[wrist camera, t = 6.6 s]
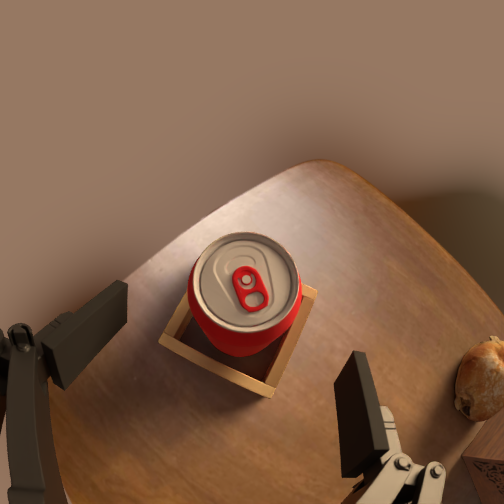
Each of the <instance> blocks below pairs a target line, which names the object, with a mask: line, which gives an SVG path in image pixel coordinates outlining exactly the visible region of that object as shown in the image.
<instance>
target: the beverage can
mask: <svg viewBox="0 0 504 504" xmlns="http://www.w3.org/2000/svg"><path fill="white" fill-rule="evenodd" d="M187 297H188V303H189V307H190V310H191V312H192V314H193V316H194V318H195V320H196V321H197V323H198V324H199V326H200V327H201V329H202V330H203V332H204V333H205V335H206V336H207V337H208V339H209V340H210V342H211V343H212V344H213V345H214V346H215V347H216V348H217V349H218V350H220V351H221V352H223V353H225V354H227V355H230V356H235V357H246V356H250V355H253V354H256V353H258V352H259V351H261V350H262V349H264V348H265V347H266V346H268V345H269V344H270V343H271V342H273V341H274V340H275V339H277V338H278V337H279V336H280V335H282V334H283V333H284V332H285V331H286V330H287V329H288V328H289V327H290V326H291V324H292V323H293V321H294V320H295V318H296V316H297V314H298V311H299V308H300V305H301V299H302V285H301V280H300V276H299V273H298V270H297V267H296V265H295V262H294V260H293V259H292V257H291V255H290V254H289V253H288V251H287V250H286V249H285V248H284V247H283V246H282V245H281V244H279V243H278V242H277V241H275V240H274V239H272V238H270V237H268V236H265V235H263V234H259V233H255V232H236V233H231V234H228V235H225V236H223V237H221V238H219V239H217V240H215V241H214V242H212V243H211V244H210V245H209V246H208V247H207V248H206V249H205V250H204V251H203V253H202V254H201V255H200V257H199V258H198V259H197V261H196V262H195V264H194V266H193V268H192V270H191V273H190V276H189V280H188V286H187Z"/></svg>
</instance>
